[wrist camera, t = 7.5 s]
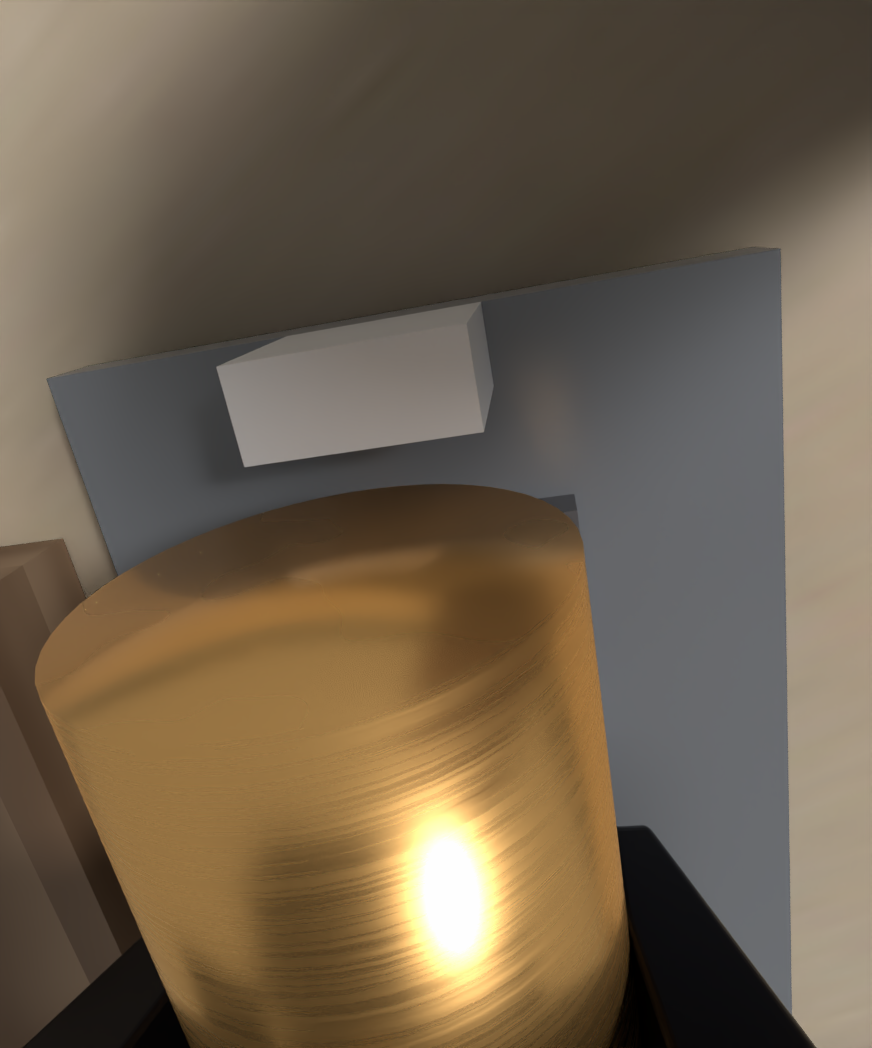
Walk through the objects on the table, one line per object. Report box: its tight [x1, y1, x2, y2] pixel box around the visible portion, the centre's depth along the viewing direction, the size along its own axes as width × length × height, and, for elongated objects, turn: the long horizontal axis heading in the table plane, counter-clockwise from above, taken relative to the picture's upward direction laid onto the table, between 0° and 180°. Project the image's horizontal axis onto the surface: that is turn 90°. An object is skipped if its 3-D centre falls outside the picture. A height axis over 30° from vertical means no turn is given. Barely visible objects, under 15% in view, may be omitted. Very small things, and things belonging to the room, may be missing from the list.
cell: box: [35, 484, 642, 1048], centre depth 7 cm, size 4×10×4 cm, turn 10°
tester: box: [47, 247, 792, 1015], centre depth 11 cm, size 9×18×4 cm, turn 10°
